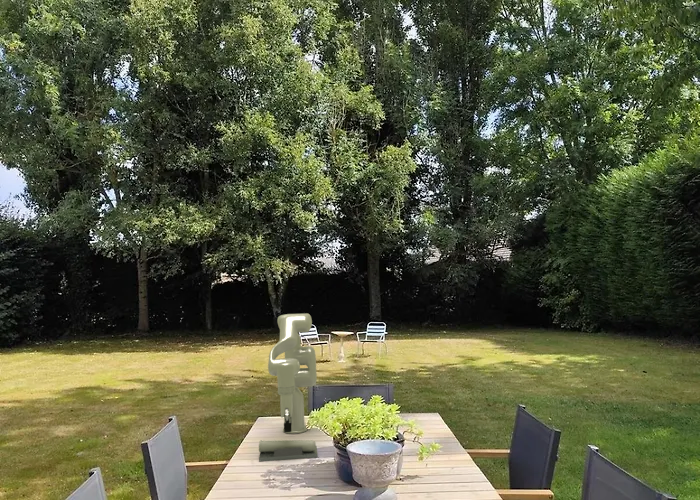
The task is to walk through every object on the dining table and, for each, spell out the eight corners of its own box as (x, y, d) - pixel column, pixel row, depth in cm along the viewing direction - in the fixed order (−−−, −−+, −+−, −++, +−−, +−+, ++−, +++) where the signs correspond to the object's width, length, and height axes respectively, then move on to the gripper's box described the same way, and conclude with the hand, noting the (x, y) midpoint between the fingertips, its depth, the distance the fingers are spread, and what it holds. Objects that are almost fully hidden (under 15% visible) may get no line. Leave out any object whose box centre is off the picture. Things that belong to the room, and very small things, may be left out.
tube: (317, 439, 251) (261, 440, 253) (315, 439, 246) (259, 439, 248) (316, 452, 249) (261, 453, 251) (315, 452, 244) (258, 452, 246)
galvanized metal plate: (260, 453, 253) (260, 443, 254) (316, 449, 256) (316, 439, 256) (259, 461, 241) (258, 450, 242) (317, 457, 244) (317, 446, 244)
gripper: (278, 386, 259) (279, 423, 258) (277, 395, 241) (278, 435, 241) (294, 385, 259) (296, 422, 259) (294, 394, 242) (296, 434, 242)
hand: (287, 428), depth 250 cm, fingers open, 9 cm apart
